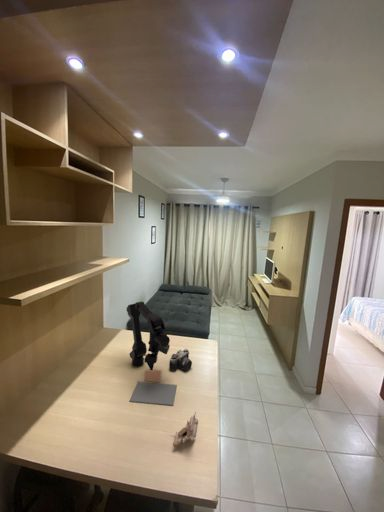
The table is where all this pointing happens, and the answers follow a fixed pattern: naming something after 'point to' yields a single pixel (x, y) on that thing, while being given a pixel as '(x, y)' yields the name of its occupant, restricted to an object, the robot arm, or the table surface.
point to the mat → (154, 393)
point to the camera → (180, 360)
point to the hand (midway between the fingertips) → (153, 364)
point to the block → (153, 375)
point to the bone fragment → (186, 431)
